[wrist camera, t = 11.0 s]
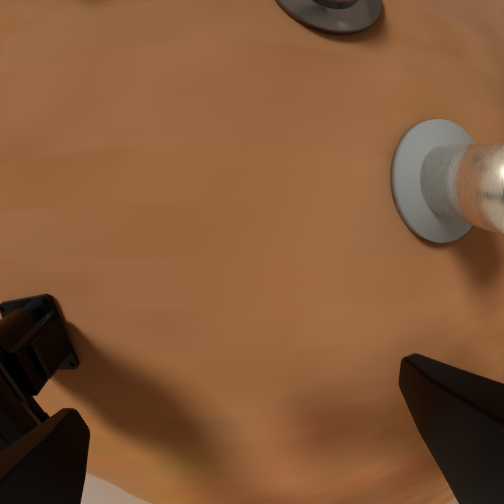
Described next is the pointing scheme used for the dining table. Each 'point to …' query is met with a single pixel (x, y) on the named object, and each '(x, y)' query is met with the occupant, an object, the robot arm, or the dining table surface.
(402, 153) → the coaster
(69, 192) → the dining table surface
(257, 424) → the dining table surface
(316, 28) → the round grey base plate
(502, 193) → the drinking glass
